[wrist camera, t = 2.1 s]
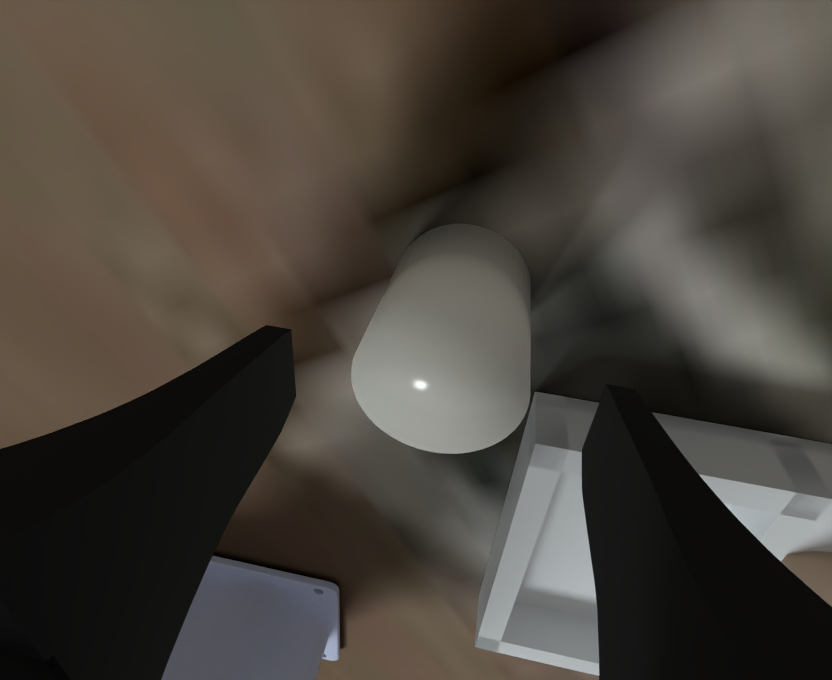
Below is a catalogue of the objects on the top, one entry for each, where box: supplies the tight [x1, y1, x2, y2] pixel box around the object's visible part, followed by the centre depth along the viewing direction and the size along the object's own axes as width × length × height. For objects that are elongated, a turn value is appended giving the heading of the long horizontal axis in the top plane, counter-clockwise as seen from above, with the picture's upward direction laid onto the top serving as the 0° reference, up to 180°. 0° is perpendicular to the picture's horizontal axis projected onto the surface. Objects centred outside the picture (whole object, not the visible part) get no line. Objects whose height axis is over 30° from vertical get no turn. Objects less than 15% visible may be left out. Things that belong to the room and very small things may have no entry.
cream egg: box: [351, 224, 531, 454], centre depth 14 cm, size 4×4×5 cm
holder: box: [475, 391, 832, 676], centre depth 20 cm, size 16×13×2 cm
